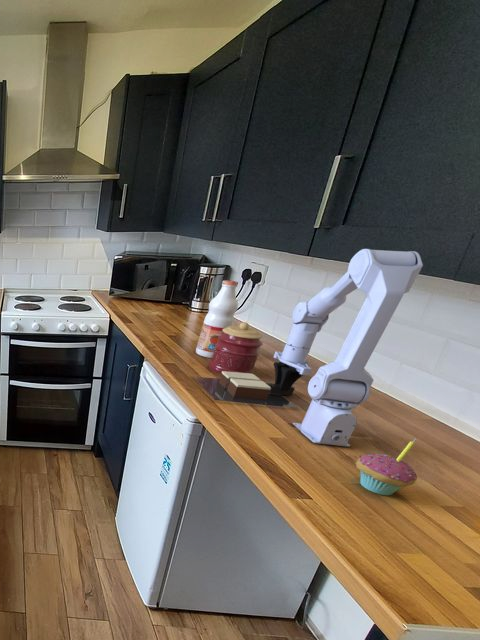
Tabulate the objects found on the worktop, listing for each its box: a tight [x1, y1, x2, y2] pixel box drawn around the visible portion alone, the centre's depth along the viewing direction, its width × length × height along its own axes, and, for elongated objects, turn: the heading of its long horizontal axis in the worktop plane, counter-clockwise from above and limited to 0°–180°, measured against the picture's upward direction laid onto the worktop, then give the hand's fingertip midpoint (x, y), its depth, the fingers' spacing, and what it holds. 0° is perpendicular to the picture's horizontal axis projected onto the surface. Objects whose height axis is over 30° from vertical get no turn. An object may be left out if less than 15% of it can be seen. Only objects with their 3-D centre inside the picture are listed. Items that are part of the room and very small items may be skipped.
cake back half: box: [219, 371, 261, 389], centre depth 124 cm, size 5×9×4 cm, turn 81°
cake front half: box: [227, 379, 271, 400], centre depth 119 cm, size 5×9×4 cm, turn 81°
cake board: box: [193, 376, 298, 409], centre depth 122 cm, size 18×22×1 cm
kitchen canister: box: [208, 321, 264, 375], centre depth 135 cm, size 13×13×18 cm
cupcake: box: [355, 438, 418, 496], centre depth 79 cm, size 9×8×12 cm
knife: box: [226, 379, 296, 396], centre depth 121 cm, size 18×2×3 cm, turn 81°
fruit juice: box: [195, 279, 239, 359], centre depth 149 cm, size 9×9×28 cm
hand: (281, 388), depth 120 cm, fingers closed on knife, 2 cm apart
